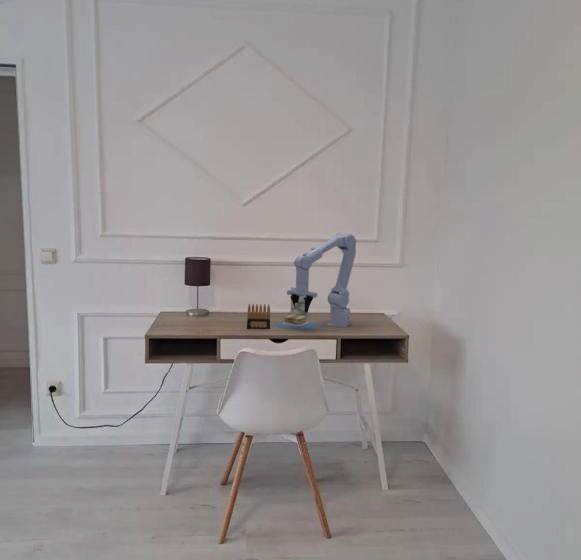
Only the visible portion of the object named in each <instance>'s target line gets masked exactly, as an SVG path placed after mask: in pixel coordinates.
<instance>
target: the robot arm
mask: <svg viewBox="0 0 581 560" xmlns="http://www.w3.org/2000/svg"><path fill="white" fill-rule="evenodd" d="M356 244H357V238H356V237H355V235H354V234H352V233H349V234H348V233H341V232H338V233H336V234H334V235H333V236H331V238H330V239H328V240H327V241H325V243H323V244H322V245H321V246H319V247H317V246H312V247H311V248H310V250H308V251H306V252H304V253H303V254H302V255H298V256H297V257H296V258H295V260H294V261H293V265H294V268H295V272H296V274H295V288H296V290H291V289H288V290H287V291H286V295H289V296H290V297H289V298H290V301H291V300H292V302H293V305H294V309H295V303H297V302H299V297H300V296H306V297H305V298H304V301H305V312H308V313H309V309H310V307H311V303H312V302H313V300H314V299H315V298H318V292H315V291H314V292H313V291H309V281H310V279H309V277H310V269H311V267H312V265H313V264H314V263H316V262H318V261H319V260H320V259H322V257H323V254H325V253H327V252H328V251H330V250H332V249H333V248H336V247H337V248H338V249H339V250H340V251H341V252H342V254H343V256H342V259H341V263H340V265H339V266H340V267H339V271H338V274H337V275H338V276H337V279H336V283H335V285H334V286H333V287H332V288H331V290H330V293H328V296H327V302H328V303H329V306H330V307H329V308H330V310H329V322H328V323H326V325H328V326H333V327H341V328H347V327H348V326H350V325H351V309H350V308H349V307H347V306H348V304H349V302H350V298H349V297H350V292H349V289H348V286H349V280H350V276H351V274H352V270H353V265H354V262H355V257H356V252H357V251H356Z"/></svg>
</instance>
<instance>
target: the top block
mask: <svg viewBox="0 0 581 560" xmlns="http://www.w3.org/2000/svg"><path fill="white" fill-rule="evenodd" d="M308 313H309V311H308V312H305V302H297V303H295V314H300V315H305V314H307V315H308Z"/></svg>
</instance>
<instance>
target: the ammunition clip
mask: <svg viewBox="0 0 581 560" xmlns="http://www.w3.org/2000/svg"><path fill="white" fill-rule="evenodd" d="M247 305H248V306H247V315H246V330H247V329H248V330H271V306H270V303H269V304H268V305H267V307H266V303H264V304H263V305H262V303H260V305H258V303H256V305H255V304H254V303H252V305H251V304H250V303H248V304H247Z"/></svg>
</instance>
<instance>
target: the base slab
mask: <svg viewBox="0 0 581 560" xmlns="http://www.w3.org/2000/svg"><path fill="white" fill-rule="evenodd" d="M307 319H308V315H307V316H301V315H294V314H289V315H287V316H284V320H285V321H284V320H283V321H284V323H287V324H294V325H301V324H304V323H306V322H308V320H307Z"/></svg>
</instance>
